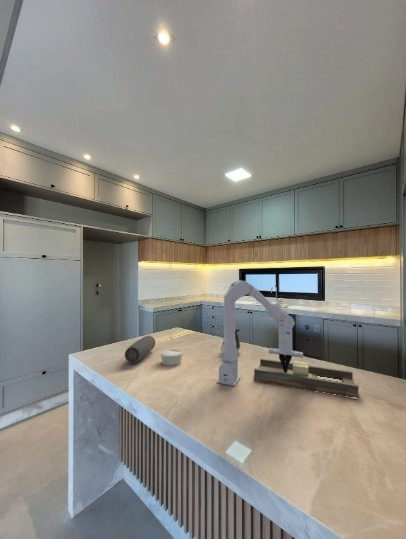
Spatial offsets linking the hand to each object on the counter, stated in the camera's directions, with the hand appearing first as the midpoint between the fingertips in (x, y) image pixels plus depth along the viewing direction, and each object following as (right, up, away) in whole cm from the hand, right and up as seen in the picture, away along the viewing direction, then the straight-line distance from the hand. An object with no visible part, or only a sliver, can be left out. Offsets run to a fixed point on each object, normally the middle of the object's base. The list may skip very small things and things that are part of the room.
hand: (285, 371), depth 108 cm
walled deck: (+7, -3, -3) cm, 8 cm away
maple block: (+6, -1, -3) cm, 6 cm away
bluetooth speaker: (-71, -4, +26) cm, 76 cm away
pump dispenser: (-20, -4, +34) cm, 40 cm away
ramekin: (-53, -3, +19) cm, 57 cm away
